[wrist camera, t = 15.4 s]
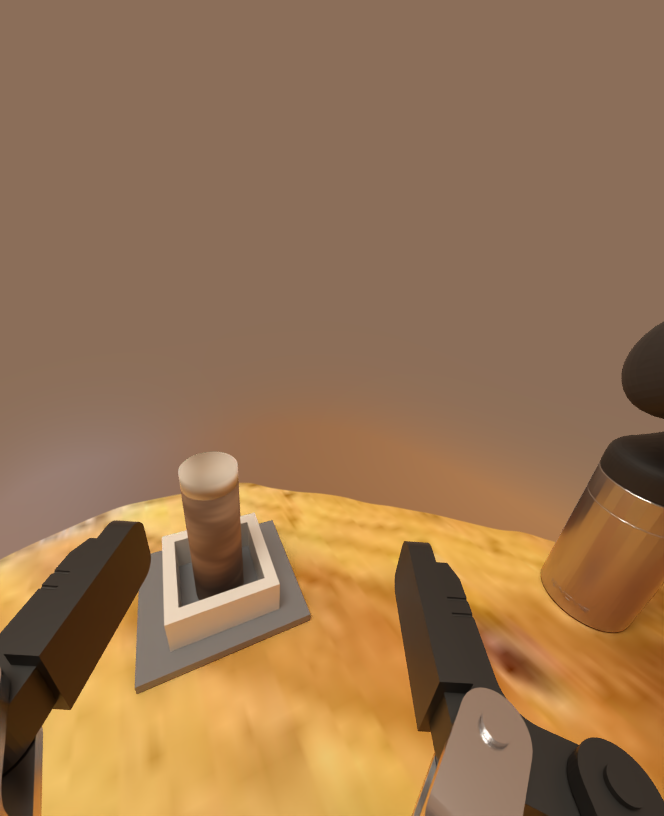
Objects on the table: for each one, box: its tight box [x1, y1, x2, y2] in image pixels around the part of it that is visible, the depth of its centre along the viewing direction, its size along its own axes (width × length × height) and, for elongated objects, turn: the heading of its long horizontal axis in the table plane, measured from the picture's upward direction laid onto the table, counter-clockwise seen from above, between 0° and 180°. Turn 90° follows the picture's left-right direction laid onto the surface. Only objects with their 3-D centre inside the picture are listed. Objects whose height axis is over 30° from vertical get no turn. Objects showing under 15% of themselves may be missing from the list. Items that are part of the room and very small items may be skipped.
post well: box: [135, 513, 310, 694], centre depth 36 cm, size 16×14×5 cm
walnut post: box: [178, 452, 244, 600], centre depth 33 cm, size 5×5×16 cm
